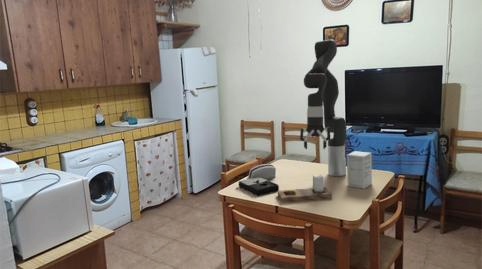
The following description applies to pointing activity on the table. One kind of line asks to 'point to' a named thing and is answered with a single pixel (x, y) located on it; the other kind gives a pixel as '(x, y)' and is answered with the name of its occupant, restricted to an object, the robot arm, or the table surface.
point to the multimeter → (258, 186)
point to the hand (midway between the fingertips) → (315, 148)
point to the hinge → (262, 171)
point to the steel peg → (318, 184)
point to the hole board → (303, 195)
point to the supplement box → (359, 169)
